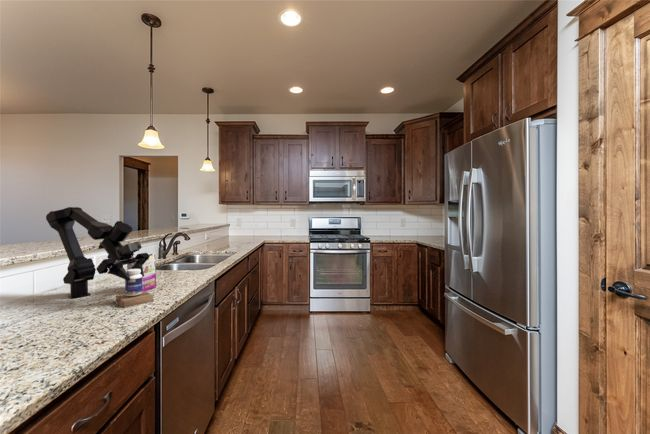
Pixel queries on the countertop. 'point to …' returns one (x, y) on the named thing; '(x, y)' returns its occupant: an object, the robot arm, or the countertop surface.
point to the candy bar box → (147, 272)
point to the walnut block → (134, 299)
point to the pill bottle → (133, 283)
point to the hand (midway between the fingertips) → (136, 278)
